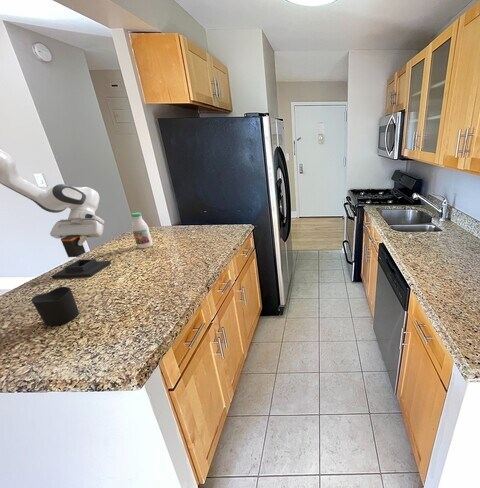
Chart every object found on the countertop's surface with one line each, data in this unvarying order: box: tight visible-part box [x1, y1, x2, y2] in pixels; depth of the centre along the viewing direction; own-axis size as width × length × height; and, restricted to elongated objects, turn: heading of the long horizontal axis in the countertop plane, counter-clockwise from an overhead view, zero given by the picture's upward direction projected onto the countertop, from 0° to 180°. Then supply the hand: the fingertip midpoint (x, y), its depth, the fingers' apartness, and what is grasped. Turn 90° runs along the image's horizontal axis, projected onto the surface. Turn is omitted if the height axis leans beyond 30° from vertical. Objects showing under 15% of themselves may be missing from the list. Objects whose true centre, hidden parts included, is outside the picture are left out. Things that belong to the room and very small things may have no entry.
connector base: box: [51, 258, 112, 280], centre depth 123 cm, size 16×14×4 cm
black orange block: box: [60, 235, 86, 258], centre depth 119 cm, size 4×5×9 cm
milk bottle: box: [130, 212, 154, 249], centre depth 148 cm, size 8×8×20 cm
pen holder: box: [31, 286, 80, 327], centre depth 89 cm, size 9×9×10 cm
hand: (72, 245), depth 118 cm, fingers closed on black orange block, 4 cm apart
